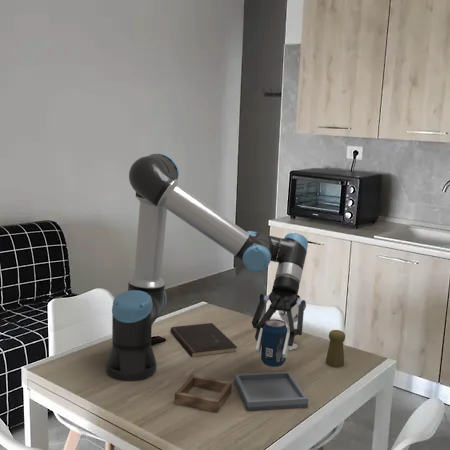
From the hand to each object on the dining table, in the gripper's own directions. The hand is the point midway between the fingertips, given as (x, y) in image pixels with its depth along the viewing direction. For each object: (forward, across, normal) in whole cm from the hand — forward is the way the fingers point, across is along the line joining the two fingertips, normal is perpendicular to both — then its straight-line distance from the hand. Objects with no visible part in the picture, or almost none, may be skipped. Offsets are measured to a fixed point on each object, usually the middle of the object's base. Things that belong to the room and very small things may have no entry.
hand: (270, 353), depth 162 cm
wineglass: (-18, +3, -38) cm, 42 cm away
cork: (-13, -14, -33) cm, 38 cm away
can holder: (+14, +17, -5) cm, 23 cm away
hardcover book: (-12, +32, -33) cm, 47 cm away
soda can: (+1, 0, -6) cm, 6 cm away
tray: (+7, 0, -12) cm, 14 cm away
